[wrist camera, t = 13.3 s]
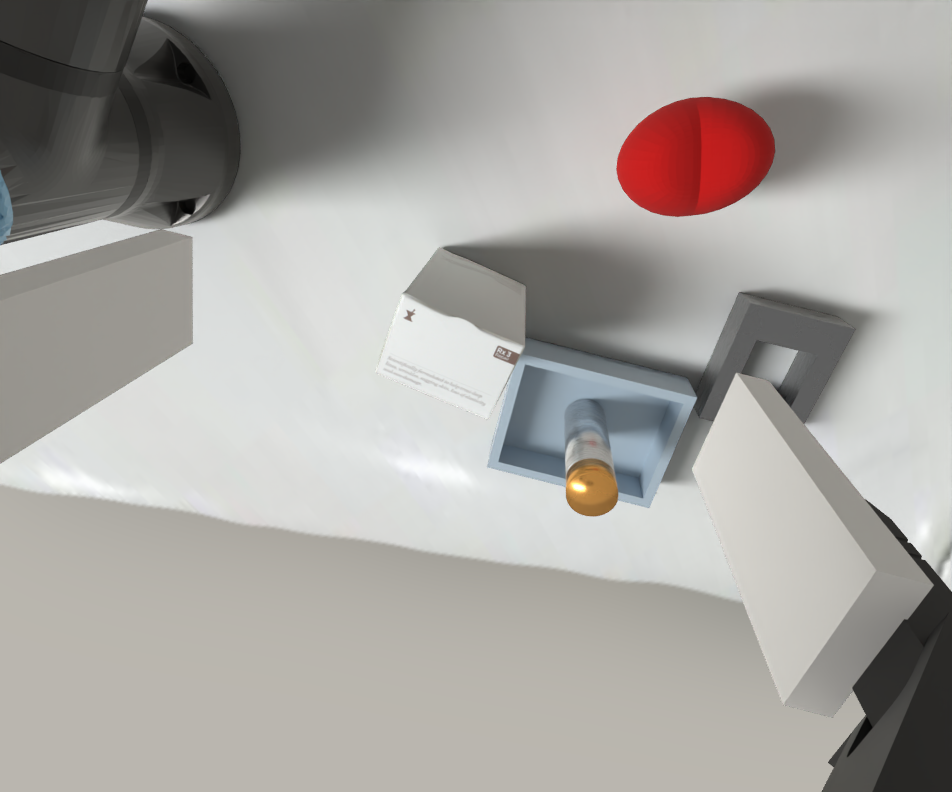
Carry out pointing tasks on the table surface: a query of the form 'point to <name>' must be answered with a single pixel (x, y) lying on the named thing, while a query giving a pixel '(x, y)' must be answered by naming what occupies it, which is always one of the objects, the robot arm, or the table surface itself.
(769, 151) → the red heart shape
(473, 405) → the skincare box
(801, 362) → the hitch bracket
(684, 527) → the table surface
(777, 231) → the table surface
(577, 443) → the copper top battery
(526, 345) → the tray
